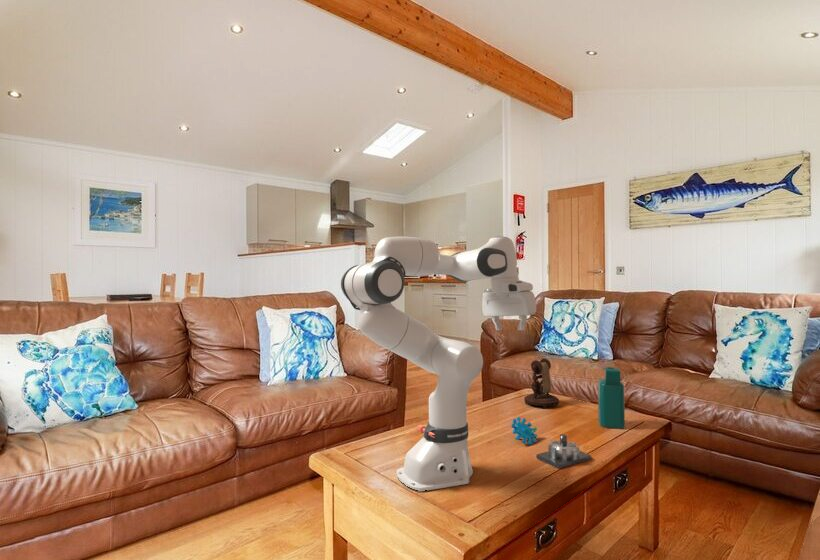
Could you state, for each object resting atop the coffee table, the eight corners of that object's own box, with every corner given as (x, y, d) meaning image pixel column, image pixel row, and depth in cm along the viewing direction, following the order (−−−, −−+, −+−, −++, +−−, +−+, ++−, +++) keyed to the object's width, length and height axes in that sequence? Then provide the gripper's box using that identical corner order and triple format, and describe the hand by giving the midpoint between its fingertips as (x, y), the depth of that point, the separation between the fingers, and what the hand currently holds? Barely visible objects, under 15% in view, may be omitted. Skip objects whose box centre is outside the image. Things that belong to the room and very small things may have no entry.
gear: (521, 443, 146) (508, 416, 153) (511, 452, 150) (499, 425, 156) (545, 442, 151) (532, 415, 158) (535, 450, 155) (523, 424, 162)
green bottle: (597, 420, 173) (597, 364, 173) (621, 422, 171) (620, 365, 171) (601, 429, 164) (600, 369, 164) (626, 430, 162) (625, 370, 161)
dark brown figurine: (546, 411, 186) (546, 364, 186) (517, 404, 197) (517, 359, 197) (565, 404, 195) (565, 359, 195) (536, 397, 207) (536, 355, 207)
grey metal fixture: (558, 469, 131) (558, 444, 131) (536, 458, 138) (536, 435, 138) (591, 459, 137) (590, 436, 137) (568, 449, 145) (568, 427, 145)
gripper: (476, 290, 149) (480, 331, 149) (523, 285, 133) (528, 331, 132) (489, 288, 153) (493, 328, 152) (537, 284, 136) (541, 328, 136)
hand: (510, 330), depth 142 cm, fingers open, 8 cm apart
